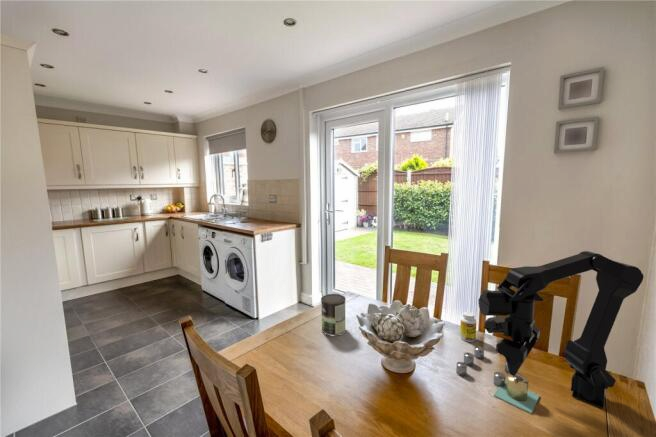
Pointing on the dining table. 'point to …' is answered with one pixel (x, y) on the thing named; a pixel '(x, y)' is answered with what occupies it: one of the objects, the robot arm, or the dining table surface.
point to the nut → (517, 387)
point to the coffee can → (333, 314)
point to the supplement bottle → (468, 327)
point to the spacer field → (469, 361)
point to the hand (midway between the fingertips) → (517, 367)
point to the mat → (523, 405)
